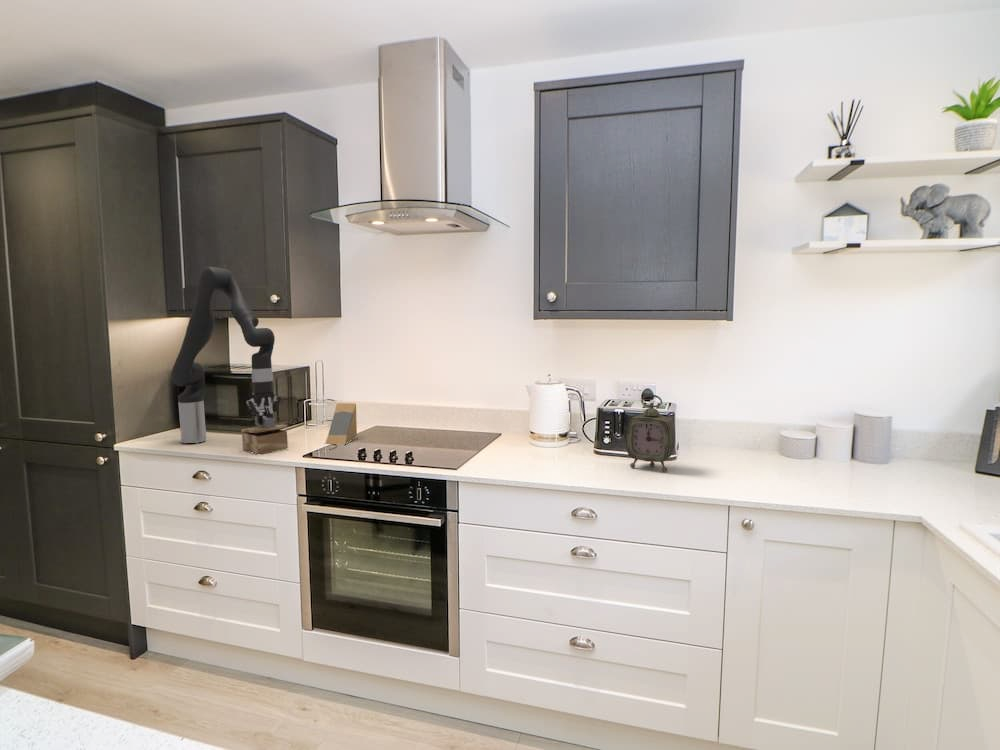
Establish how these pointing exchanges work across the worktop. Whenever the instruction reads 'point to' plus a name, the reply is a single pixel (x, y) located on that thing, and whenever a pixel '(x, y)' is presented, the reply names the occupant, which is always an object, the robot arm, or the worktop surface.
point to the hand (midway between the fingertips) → (265, 423)
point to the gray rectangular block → (266, 422)
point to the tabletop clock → (650, 436)
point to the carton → (265, 441)
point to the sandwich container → (343, 424)
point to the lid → (262, 429)
